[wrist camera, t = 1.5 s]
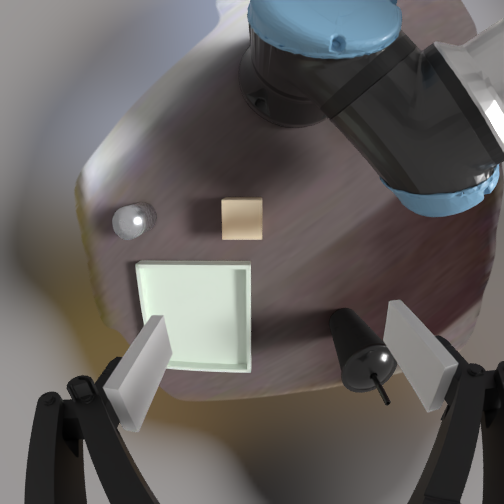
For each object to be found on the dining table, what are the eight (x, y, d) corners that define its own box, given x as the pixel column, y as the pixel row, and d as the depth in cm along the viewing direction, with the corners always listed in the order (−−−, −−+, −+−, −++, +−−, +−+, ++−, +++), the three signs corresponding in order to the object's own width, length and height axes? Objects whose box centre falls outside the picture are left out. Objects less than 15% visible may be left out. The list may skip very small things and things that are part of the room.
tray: (140, 260, 42) (135, 264, 40) (250, 260, 42) (250, 265, 40) (156, 359, 47) (152, 366, 45) (251, 364, 47) (251, 372, 45)
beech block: (225, 197, 40) (221, 199, 35) (261, 196, 40) (262, 199, 35) (226, 232, 41) (222, 239, 36) (261, 232, 41) (262, 239, 36)
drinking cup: (357, 291, 43) (414, 364, 24) (369, 328, 45) (420, 405, 26) (313, 312, 44) (347, 398, 25) (329, 347, 46) (363, 434, 27)
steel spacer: (129, 202, 40) (111, 207, 34) (155, 201, 40) (140, 205, 34) (131, 231, 41) (113, 240, 35) (157, 231, 41) (142, 239, 35)
